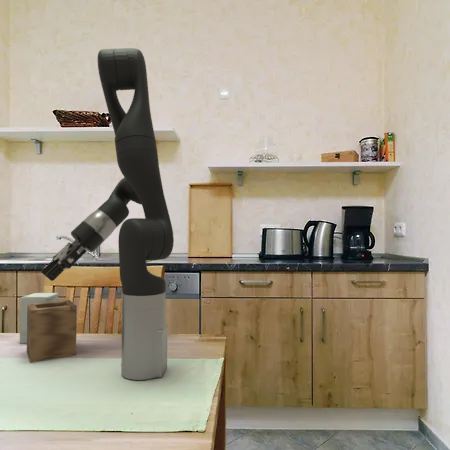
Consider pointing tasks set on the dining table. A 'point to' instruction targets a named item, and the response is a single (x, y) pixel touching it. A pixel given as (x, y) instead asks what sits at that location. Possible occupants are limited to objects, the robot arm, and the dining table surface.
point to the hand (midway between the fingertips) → (46, 276)
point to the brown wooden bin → (51, 330)
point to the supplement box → (23, 309)
